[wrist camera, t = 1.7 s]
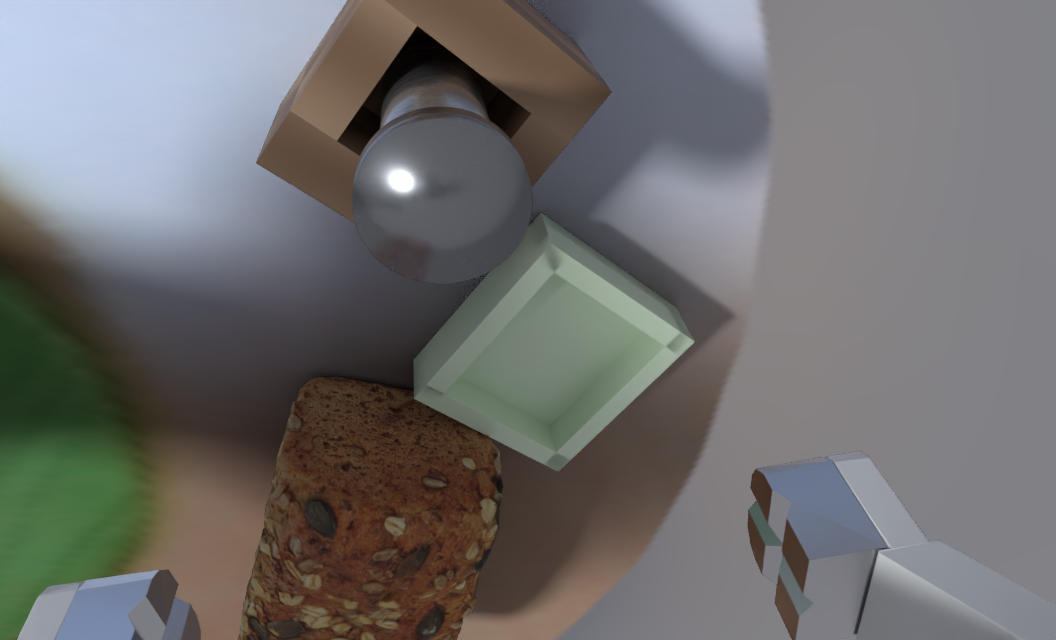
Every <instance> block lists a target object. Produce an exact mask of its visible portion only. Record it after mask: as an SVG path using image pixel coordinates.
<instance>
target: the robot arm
mask: <svg viewBox="0 0 1056 640" xmlns="http://www.w3.org/2000/svg"><path fill="white" fill-rule="evenodd" d="M751 490H752V492H753V494H754V496H755V498H756V500H757V501H756V502H755V503H754V504H753V505H752V506H751V507H750V509H749V510H748V531H749V537H750V544H751V547H752V550H753V553H754V556H755V560H756V562H757V564H758V566H759V569H760V571H761V573H762V575H763V576H764V577H766V578H767V579H769V580H770V581H772V582H773V583H775V584H776V585H777V589H776V597H775V604H776V606H777V609H778V611H779V613H780V615H781V617H782V619H783V622H784V624H785V626H786V628H787V630H788V632H789V634H790V637H791V639H792V640H835V639H842V638H849V637H855V636H857V637H856V640H1056V605H1054V604H1053V603H1051V602H1049V601H1047V600H1045V599H1044V598H1042V597H1040V596H1038V595H1037V594H1035V593H1033V592H1031V591H1030V590H1028V589H1026V588H1024V587H1022V586H1021V585H1019V584H1017V583H1015V582H1013V581H1012V580H1010V579H1008V578H1007V577H1005V576H1003V575H1001V574H999V573H998V572H995V571H994V570H992V569H990V568H989V567H987V566H985V565H983V564H982V563H980V562H978V561H976V560H975V559H973V558H971V557H969V556H967V555H966V554H964V553H962V552H960V551H959V550H957V549H955V548H953V547H951V546H949V545H948V544H946V543H944V542H943V541H941V540H938V541H930V542H929V540H928V539H927V538H926V536H925V535H924V533H923V532H922V531H921V529H920V528H919V526H918V525H917V524H916V522H915V521H914V519H913V518H912V516H911V515H910V514H909V512H908V511H907V509H906V508H905V507H904V505H903V504H902V502H901V501H900V500H899V498H898V497H897V495H896V494H895V493H894V491H893V490H892V489H891V487H890V486H889V484H888V483H887V481H886V480H885V479H884V477H883V476H882V474H881V473H880V472H879V470H878V469H877V467H876V466H875V465H874V463H873V462H872V460H871V459H870V457H869V456H868V455H866V454H865V453H863V452H862V451H857V452H850V453H845V454H839V455H834V456H827V457H824V458H823V457H818V458H813V459H807V460H802V461H796V462H791V463H785V464H779V465H775V466H768V467H763V468H757V469H756V470H755V471H754V473H753V474H752V481H751ZM177 588H178V583H177V581H176V580H175V578H174V577H173V576H172V574H171V573H170V571H169V570H156V571H149V572H142V573H134V574H127V575H120V576H113V577H106V578H99V579H92V580H86V581H81V582H74V583H67V584H61V585H54V586H49V587H48V588H47V589H46V590H44V591H43V592H42V593H41V594H40V595H39V596H38V598H37V599H36V601H35V603H34V605H33V608H32V610H31V612H30V614H29V616H28V618H27V620H26V622H25V624H24V626H23V628H22V630H21V632H20V635H19V637H18V639H17V640H201V630H200V626H199V622H198V618H197V615H196V613H195V612H194V610H193V608H192V606H191V605H190V604H189V603H187V602H184V601H182V600H180V599H178V598H176V597H175V595H176V591H177Z"/></svg>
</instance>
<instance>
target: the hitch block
mask: <svg viewBox="0 0 1056 640" xmlns="http://www.w3.org/2000/svg"><path fill="white" fill-rule="evenodd" d="M422 34H429V35H430V36H431V37H433V38H434V39H435V40H436V41H438V42H439V43H440V44H442V45H443V46H444V47H445V48H447V49H448V50H449V51H451V52H452V53H453V54H455V55H456V56H457V57H458V58H460V59H461V60H462V61H464V62H465V63H466V64H468V65H469V66H470V67H471V68H473V69H474V70H475V71H476V73H477V77H478V80H479V84H480V88H481V91H482V95H483V98H484V102H485V106H486V109H487V113H488V116H489V120H490V121H491V122H493V123H494V124H496V125H497V126H498V127H499V128H500V129H501V130H503V131H504V132H505V133H506V134H507V136H508V137H509V138H510V139H511V140H512V142H513V143H514V145H515V146H516V148H517V149H518V151H519V153H520V155H521V157H522V160H523V163H524V165H525V168H526V171H527V174H528V177H529V181H530V184H531V187H532V186H533V185H534V184H535V183H536V181H537V180H538V179H539V178H540V177H541V175H542V174H543V173H544V172H545V171H546V170H547V168H548V167H549V166H550V165H551V164H552V162H553V161H554V160H555V159H556V158H557V156H558V155H559V154H560V153H561V152H562V151H563V149H564V148H565V147H566V146H567V145H568V143H569V142H570V141H571V140H572V139H573V137H574V136H575V135H576V134H577V133H578V132H579V130H580V129H581V128H582V127H583V126H584V124H585V123H586V122H587V121H588V120H589V118H590V117H591V116H592V115H593V114H594V113H595V111H596V110H597V109H598V108H599V107H600V105H601V104H602V103H603V102H604V101H605V100H606V98H607V97H608V96H609V95H610V94H611V90H610V89H609V87H608V86H607V85H606V83H605V82H604V81H603V79H602V78H601V76H600V75H599V74H598V72H597V71H596V69H595V68H594V67H593V65H592V64H591V63H590V61H589V60H588V58H587V57H586V56H585V54H584V53H583V51H582V50H581V49H580V47H579V46H578V45H577V44H576V43H575V42H574V41H572V40H571V39H570V38H569V37H568V36H567V35H565V34H564V33H563V32H562V31H561V30H559V29H558V28H557V27H556V26H555V25H554V24H552V23H551V22H550V21H549V20H548V19H547V18H545V17H544V16H543V15H542V14H541V13H540V12H538V11H537V10H536V9H535V8H534V7H533V6H531V5H530V4H529V3H528V2H527V1H526V0H348V1H347V2H346V4H345V6H344V7H343V9H342V10H341V12H340V13H339V15H338V16H337V18H336V19H335V21H334V23H333V24H332V26H331V27H330V29H329V30H328V32H327V33H326V35H325V36H324V38H323V40H322V41H321V43H320V44H319V46H318V47H317V49H316V50H315V52H314V53H313V55H312V57H311V58H310V60H309V61H308V63H307V64H306V66H305V67H304V69H303V70H302V72H301V74H300V75H299V77H298V78H297V80H296V81H295V83H294V84H293V86H292V87H291V89H290V91H289V92H288V94H287V95H286V97H285V98H284V100H283V101H282V103H281V104H280V107H279V109H278V112H277V114H276V116H275V119H274V121H273V123H272V126H271V128H270V131H269V133H268V135H267V138H266V140H265V142H264V145H263V147H262V150H261V152H260V154H259V157H258V159H257V162H256V163H257V164H258V165H260V166H262V167H263V168H265V169H267V170H268V171H270V172H271V173H273V174H275V175H276V176H278V177H280V178H281V179H283V180H285V181H286V182H288V183H290V184H291V185H293V186H295V187H296V188H298V189H300V190H301V191H303V192H304V193H306V194H308V195H309V196H311V197H313V198H314V199H316V200H318V201H319V202H321V203H323V204H324V205H326V206H328V207H329V208H331V209H333V210H334V211H336V212H337V213H339V214H341V215H342V216H344V217H346V218H347V219H349V220H351V221H352V222H354V217H353V211H352V193H353V185H354V177H355V171H356V167H357V163H358V160H359V158H360V156H361V153H362V151H363V150H364V148H365V146H366V145H367V143H368V142H369V141H370V139H371V138H372V137H373V136H374V135H375V133H376V132H378V131H379V130H380V120H381V105H382V90H383V75H384V73H385V71H386V70H387V68H388V67H389V66H390V64H391V63H392V61H393V60H394V58H395V57H396V55H397V54H398V53H399V51H400V50H401V48H402V47H403V45H404V44H405V43H406V41H407V40H408V39H409V38H411V37H414V36H417V35H422ZM354 223H355V222H354Z"/></svg>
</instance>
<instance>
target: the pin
mask: <svg viewBox="0 0 1056 640" xmlns="http://www.w3.org/2000/svg"><path fill="white" fill-rule="evenodd" d="M532 206H533V201H532V190H531V184H530V181H529V177H528V174H527V171H526V168H525V165H524V163H523V160H522V157H521V155H520V153H519V151H518V149H517V148H516V146H515V145H514V143H513V142H512V140H511V139H510V138H509V137H508V136H507V134H506V133H505V132H504V131H503V130H501V129H500V128H499V127H498V126H497V125H496V124H494V123H493V122H491V121H490V120H489V116H488V113H487V109H486V106H485V102H484V98H483V95H482V91H481V88H480V84H479V80H478V77H477V73H476V71H475V70H474V69H473V68H471V67H470V66H469V65H468V64H466V63H465V62H464V61H462V60H461V59H460V58H458V57H457V56H456V55H455V54H453V53H452V52H451V51H449V50H448V49H447V48H445V47H444V46H443V45H442V44H440V43H439V42H438V41H436V40H435V39H434V38H433V37H431V36H430V35H429V34H422V35H417V36H414V37H411V38H409V39H408V40H407V41H406V43H405V44H404V45H403V47H402V48H401V50H400V51H399V53H398V54H397V55H396V57H395V58H394V60H393V61H392V63H391V64H390V66H389V67H388V68H387V70H386V71H385V73H384V75H383V90H382V105H381V120H380V130H379V131H378V132H376V133H375V135H374V136H373V137H372V138H371V139H370V141H369V142H368V143H367V145H366V146H365V148H364V150H363V151H362V153H361V156H360V158H359V160H358V163H357V167H356V171H355V177H354V185H353V193H352V211H353V217H354V222H355V225H356V228H357V231H358V233H359V235H360V237H361V239H362V241H363V242H364V244H365V245H366V247H367V248H368V249H369V251H370V252H371V253H372V254H373V255H374V256H375V257H376V258H377V259H378V260H379V261H380V262H381V263H383V264H384V265H385V266H387V267H388V268H390V269H391V270H393V271H394V272H396V273H398V274H400V275H402V276H405V277H407V278H410V279H413V280H417V281H421V282H426V283H434V284H449V283H458V282H463V281H468V280H471V279H474V278H477V277H479V276H481V275H484V274H486V273H488V272H490V271H491V270H493V269H494V268H496V267H498V266H499V265H500V264H501V263H503V262H504V261H505V260H506V259H507V258H508V257H509V256H510V255H511V254H512V253H513V252H514V251H515V249H516V248H517V247H518V246H519V244H520V242H521V241H522V239H523V237H524V236H525V233H526V231H527V228H528V226H529V223H530V219H531V214H532Z"/></svg>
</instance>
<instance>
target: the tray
mask: <svg viewBox="0 0 1056 640" xmlns="http://www.w3.org/2000/svg"><path fill="white" fill-rule="evenodd" d="M694 342H695V341H694V339H693V337H692V335H691V334H690V332H689V330H688V328H687V326H686V324H685V322H684V321H683V319H682V317H681V315H680V313H679V311H678V309H677V308H676V307H675V306H674V305H672V304H671V303H670V302H668V301H667V300H665V299H664V298H662V297H661V296H660V295H658V294H657V293H655V292H654V291H652V290H651V289H650V288H648V287H647V286H645V285H644V284H642V283H641V282H640V281H638V280H637V279H635V278H634V277H632V276H631V275H630V274H628V273H627V272H625V271H624V270H623V269H621V268H620V267H618V266H617V265H615V264H614V263H613V262H611V261H610V260H608V259H607V258H605V257H604V256H603V255H601V254H600V253H598V252H597V251H595V250H594V249H593V248H591V247H590V246H588V245H587V244H585V243H584V242H583V241H581V240H580V239H578V238H577V237H575V236H574V235H573V234H571V233H570V232H568V231H567V230H566V229H564V228H563V227H561V226H560V225H558V224H557V223H556V222H554V221H553V220H551V219H550V218H548V217H547V216H546V215H544V214H543V213H540V214H539V215H538V216H537V217H536V219H535V220H534V221H533V222H532V223H531V224H530V225H529V227H528V228H527V231H526V233H525V236H524V237H523V239H522V241H521V242H520V244H519V246H518V247H517V248H516V249H515V251H514V252H513V253H512V254H511V255H510V256H509V257H508V258H507V259H506V260H505V261H504V262H503V263H501V264H500V265H499V266H498V267H496V268H494V269H493V270H491V271H490V272H489V273H488V274H487V275H486V276H485V278H484V279H483V280H482V281H481V282H480V283H479V285H478V286H477V287H476V288H475V289H474V290H473V292H472V293H471V294H470V295H469V296H468V297H467V298H466V300H465V301H464V302H463V303H462V304H461V305H460V307H459V308H458V309H457V310H456V311H455V312H454V314H453V315H452V316H451V317H450V318H449V319H448V321H447V322H446V323H445V324H444V325H443V326H442V327H441V329H440V330H439V331H438V332H437V333H436V334H435V336H434V337H433V338H432V339H431V340H430V341H429V343H428V344H427V345H426V346H425V347H424V348H423V349H422V351H421V352H420V353H419V354H418V355H417V356H416V358H415V359H414V360H413V369H414V399H416V400H417V401H419V402H421V403H423V404H425V405H427V406H429V407H431V408H433V409H435V410H437V411H439V412H441V413H443V414H445V415H447V416H449V417H451V418H453V419H455V420H457V421H459V422H461V423H463V424H465V425H467V426H469V427H471V428H473V429H475V430H477V431H479V432H481V433H482V434H484V435H488V436H489V437H490V438H492V439H494V440H496V441H498V442H500V443H502V444H504V445H506V446H508V447H510V448H512V449H514V450H516V451H518V452H520V453H522V454H524V455H526V456H528V457H530V458H532V459H534V460H536V461H538V462H540V463H542V464H544V465H546V466H547V467H549V468H551V469H553V470H555V471H557V472H559V471H560V470H561V469H562V468H563V467H564V466H565V465H566V464H567V463H568V462H569V461H570V460H571V459H572V458H573V457H574V456H575V455H576V454H577V453H579V452H580V451H581V450H582V449H583V448H584V447H585V446H586V445H587V444H588V443H589V442H590V441H591V440H592V439H593V438H594V437H595V436H596V435H597V434H599V433H600V432H601V431H602V430H603V429H604V428H605V427H606V426H607V425H608V424H609V423H610V422H611V421H612V420H613V419H614V418H615V417H616V416H617V415H619V414H620V413H621V412H622V411H623V410H624V409H625V408H626V407H627V406H628V405H629V404H630V403H631V402H632V401H633V400H634V399H635V398H636V397H637V396H638V395H640V394H641V393H642V392H643V391H644V390H645V389H646V388H647V387H648V386H649V385H650V384H651V383H652V382H653V381H654V380H655V379H656V378H657V377H658V376H660V375H661V374H662V373H663V372H664V371H665V370H666V369H667V368H668V367H669V366H670V365H671V364H672V363H673V362H674V361H675V360H676V359H677V358H678V357H680V356H681V355H682V354H683V353H684V352H685V351H686V350H687V349H688V348H689V347H690V346H691V345H692V344H693V343H694Z"/></svg>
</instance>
